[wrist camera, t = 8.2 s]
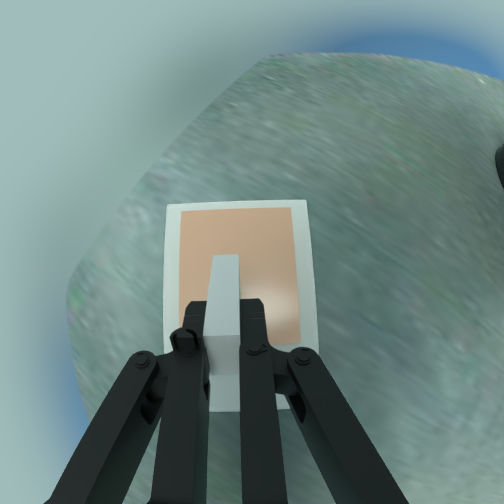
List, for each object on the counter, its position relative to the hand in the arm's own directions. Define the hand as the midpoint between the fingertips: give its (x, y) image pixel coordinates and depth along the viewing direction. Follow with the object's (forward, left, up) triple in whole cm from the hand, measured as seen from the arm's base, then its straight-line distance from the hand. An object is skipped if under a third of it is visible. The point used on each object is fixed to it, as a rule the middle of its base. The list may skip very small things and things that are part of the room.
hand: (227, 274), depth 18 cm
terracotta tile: (-4, +2, -8) cm, 9 cm away
